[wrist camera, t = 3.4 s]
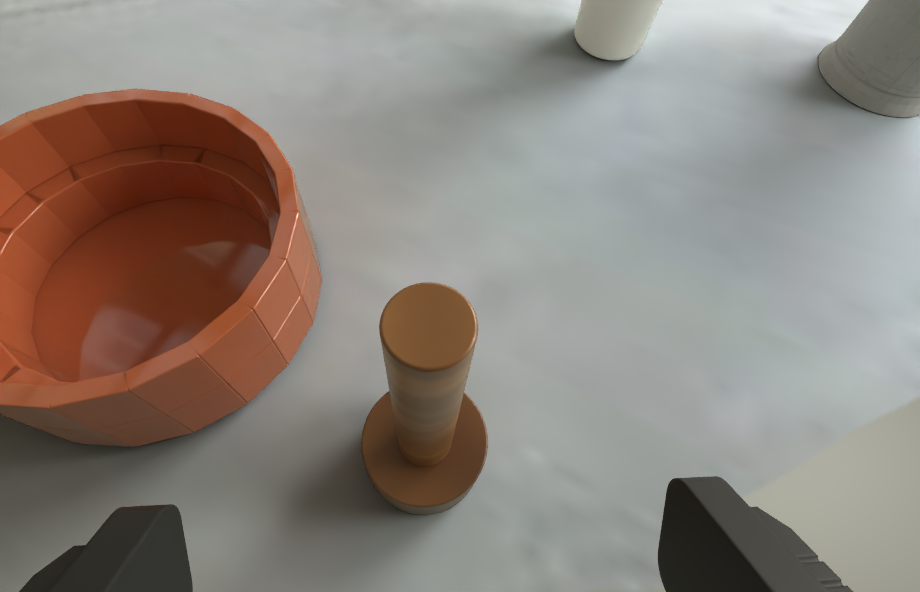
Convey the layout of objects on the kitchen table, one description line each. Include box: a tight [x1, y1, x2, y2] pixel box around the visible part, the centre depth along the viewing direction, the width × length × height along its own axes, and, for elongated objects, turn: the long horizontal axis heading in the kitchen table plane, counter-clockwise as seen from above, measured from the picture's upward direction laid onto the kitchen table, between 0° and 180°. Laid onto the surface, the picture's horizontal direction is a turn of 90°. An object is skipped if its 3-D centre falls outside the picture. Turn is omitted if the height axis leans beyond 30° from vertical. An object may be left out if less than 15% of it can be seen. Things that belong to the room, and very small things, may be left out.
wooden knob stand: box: [361, 283, 488, 515], centre depth 17 cm, size 5×5×14 cm
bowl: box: [0, 89, 322, 447], centre depth 24 cm, size 16×16×6 cm
